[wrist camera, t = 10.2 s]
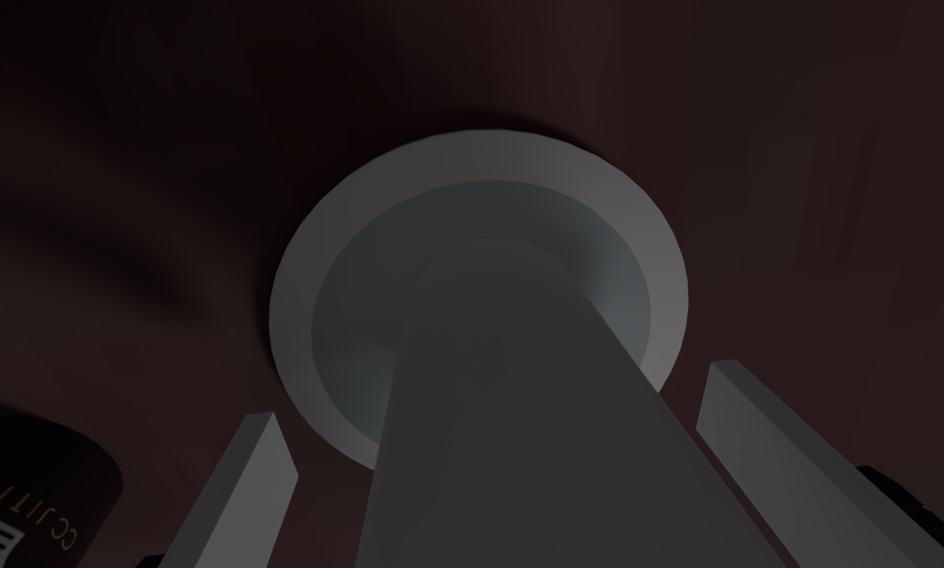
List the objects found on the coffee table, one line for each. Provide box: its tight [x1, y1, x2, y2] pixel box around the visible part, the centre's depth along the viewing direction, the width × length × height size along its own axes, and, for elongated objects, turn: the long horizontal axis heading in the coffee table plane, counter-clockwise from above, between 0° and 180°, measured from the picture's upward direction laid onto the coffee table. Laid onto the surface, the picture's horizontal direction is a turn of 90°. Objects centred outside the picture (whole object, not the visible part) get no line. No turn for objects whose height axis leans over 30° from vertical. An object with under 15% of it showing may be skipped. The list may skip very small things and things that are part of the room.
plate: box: [269, 128, 688, 470], centre depth 16 cm, size 16×16×1 cm
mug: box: [355, 237, 786, 568], centre depth 10 cm, size 10×7×12 cm, turn 18°
